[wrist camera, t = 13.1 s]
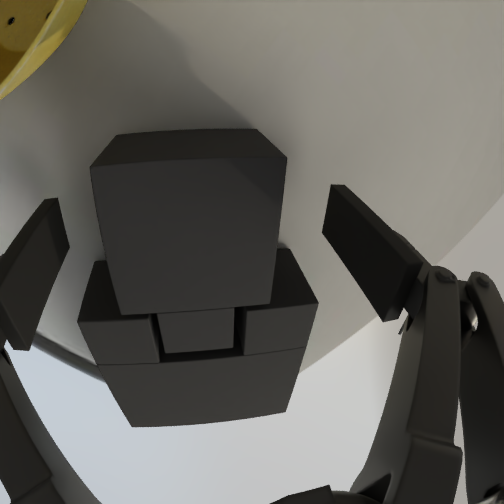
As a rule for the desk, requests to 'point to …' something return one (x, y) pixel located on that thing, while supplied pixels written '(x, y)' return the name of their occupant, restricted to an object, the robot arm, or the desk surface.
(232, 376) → the notch pad
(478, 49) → the desk surface
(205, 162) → the tab pad
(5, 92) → the flower pot
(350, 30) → the desk surface
